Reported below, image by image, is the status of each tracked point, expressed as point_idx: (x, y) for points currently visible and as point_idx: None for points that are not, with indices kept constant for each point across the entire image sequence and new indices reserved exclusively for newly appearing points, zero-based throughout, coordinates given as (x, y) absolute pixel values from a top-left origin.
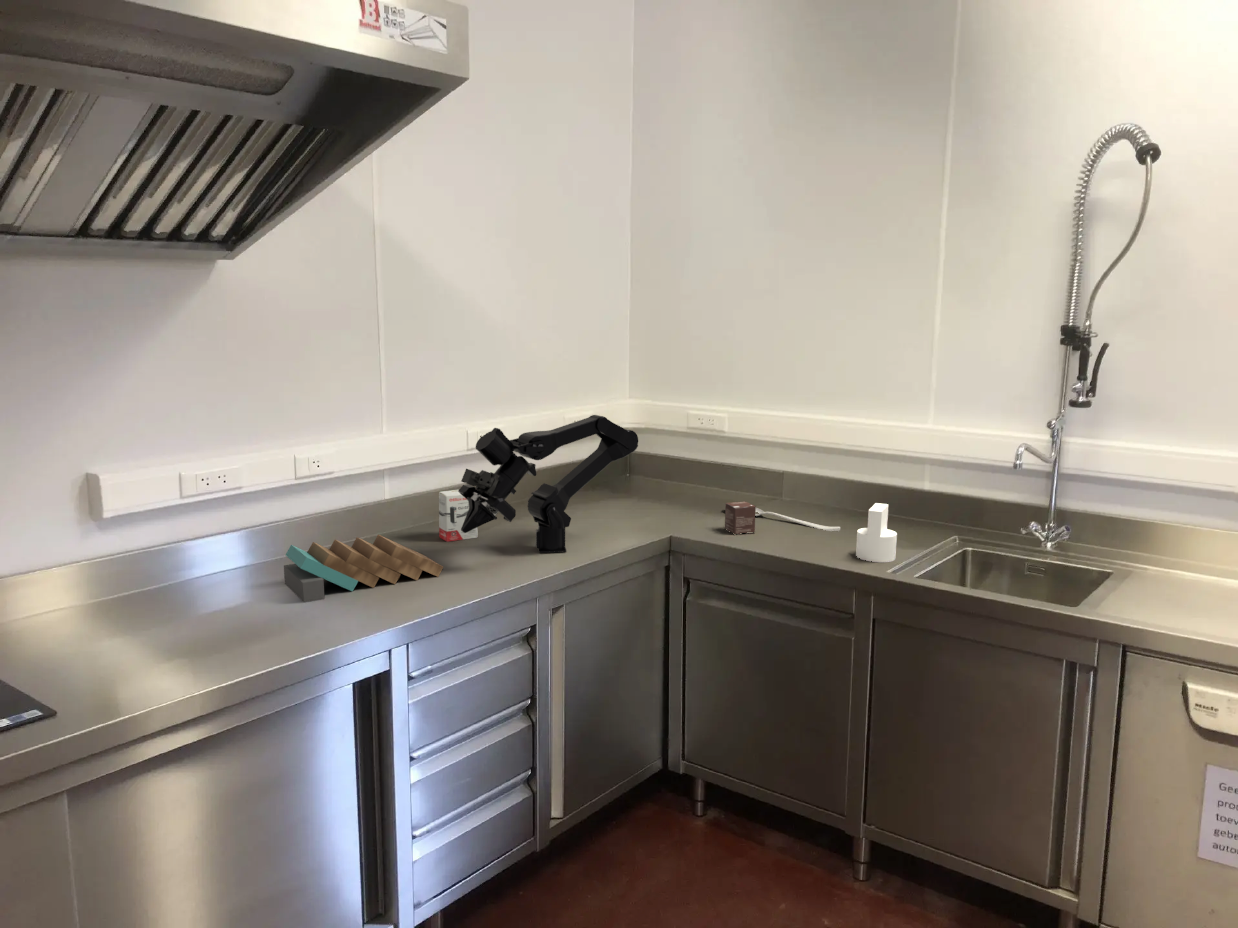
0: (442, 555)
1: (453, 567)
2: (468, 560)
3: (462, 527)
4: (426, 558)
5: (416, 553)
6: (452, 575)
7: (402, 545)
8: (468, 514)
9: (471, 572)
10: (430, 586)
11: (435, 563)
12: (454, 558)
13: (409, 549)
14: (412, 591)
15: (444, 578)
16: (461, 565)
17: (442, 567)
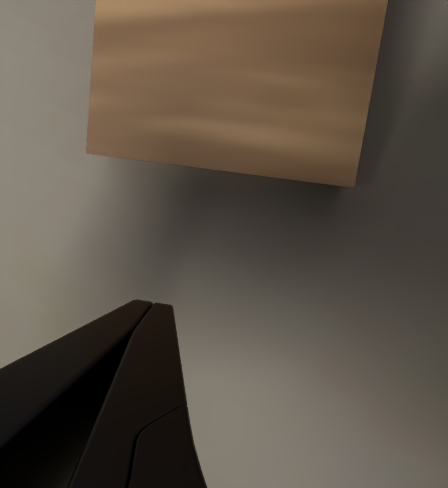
0: (435, 370)
1: (180, 284)
2: (240, 433)
3: (153, 311)
4: (152, 78)
5: (203, 36)
6: (75, 209)
7: (372, 29)
8: (135, 424)
9: (39, 304)
10: (28, 76)
11: (89, 101)
12: (332, 390)
13: (286, 33)
14: (35, 13)
15: (67, 162)
16: (181, 337)
17: (88, 150)
